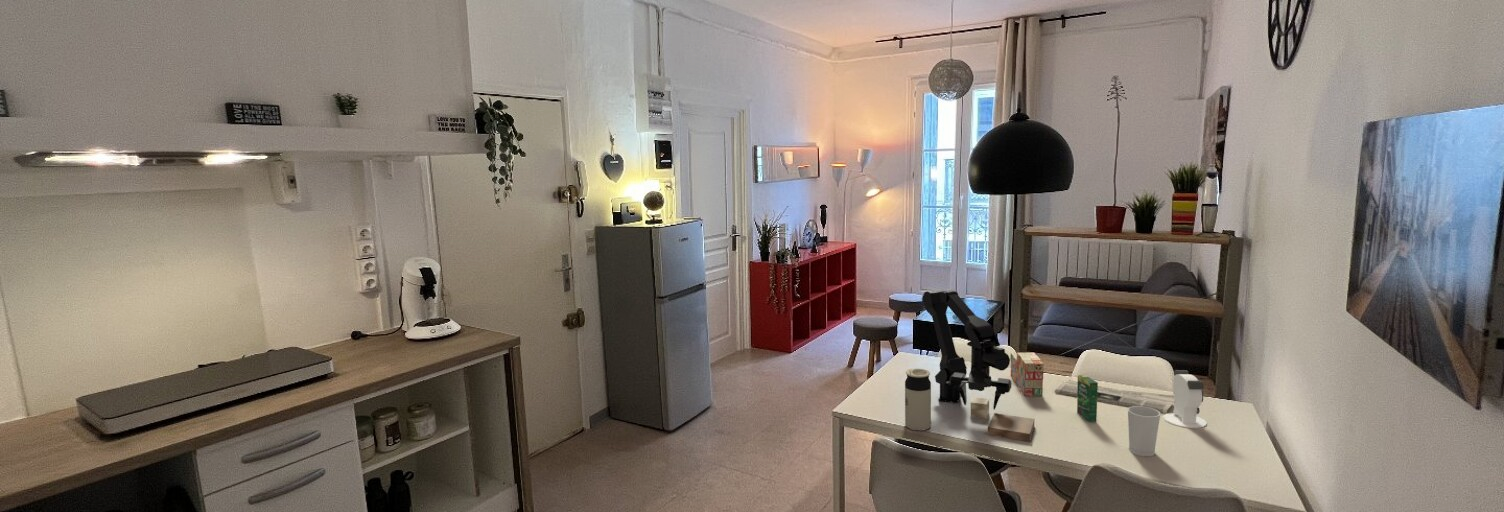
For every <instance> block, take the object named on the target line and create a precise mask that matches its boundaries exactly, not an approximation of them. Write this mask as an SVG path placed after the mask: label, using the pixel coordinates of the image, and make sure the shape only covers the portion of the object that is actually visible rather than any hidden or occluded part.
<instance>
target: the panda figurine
mask: <svg viewBox="0 0 1504 512" xmlns="http://www.w3.org/2000/svg"><path fill="white" fill-rule="evenodd" d="M1173 375H1174V377H1173V380H1172V393H1173V394H1172V395H1173V396H1174V397H1175V399H1174V403H1173V412H1167V414H1163V416H1162V419H1163V420H1164V421H1165V422H1167V423H1168V424H1171V425H1173V426H1177V427H1181V428H1184V429H1185V428H1187V429H1202V428H1205V427H1206V426H1207V421H1206V420H1204V419H1203V418H1201V417H1199V416H1198V415H1199V414H1200V406H1201V404H1202V403H1203V402H1204V391H1203V390H1204V382H1203V381H1202V380H1199V379H1198V378H1197V377H1196V376H1195V375H1193V374H1189V371H1188V370H1187V369H1186V370H1184V369H1181V370H1180V369H1175V370H1174V371H1173ZM1204 426H1205V427H1204ZM1201 427H1202V428H1201Z"/></svg>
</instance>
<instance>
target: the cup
mask: <svg viewBox="0 0 1504 512" xmlns="http://www.w3.org/2000/svg"><path fill="white" fill-rule="evenodd" d="M1160 420H1161V413H1160V412H1159V411H1157V410H1155V409H1152V408H1149V407H1143V406H1133V407H1127V421H1128V422H1127V424H1128V450H1129V452H1130V453H1132V454H1133V455H1136V456H1140V457H1153V456H1155V455H1156V453H1155V452H1156V445H1157V439H1158V432H1159V425H1160Z"/></svg>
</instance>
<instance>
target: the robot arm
mask: <svg viewBox="0 0 1504 512" xmlns="http://www.w3.org/2000/svg"><path fill="white" fill-rule="evenodd" d="M921 301H922V304H923V307H924V310H925V311H926V312H927V313H928V314H929V316H931V319H932V323H933V326H934V330H935V334H936V338H937V342H938V346H939V350H940V353H941V359H940V362H939V371H938V372H937V373H936V374H935V376H934V379H935V380H934V381H935V383H937V384H939V397H938V401H940V402H946V403H954V404H957V403H958V402H959V401H960V400H961V399H962V402H963V406H966V405H967V399H968V397H967V387H968V390H969V391H973V390H974V391H979V392H983V391H985V388H986V389H987V388H991V387H993V388H995V392H994V399H993V407H992V408H993V410H996V408H997V405H998V402H999V400H1000V397H1001V396H1002V395H1005V394H1006V393H1007V394H1008V393H1010V391H1011V389H1012V380H1011V379H1009V378H1003V377H998V378H997V380H993V379H992V376H991V375H990V370H991V368H993V369H996V370H998V371H1000V372H1001V371H1005V370H1006V369H1007V368H1008V367H1009V366H1010V364H1011V357H1010V356H1009V354H1008V353H1007V352H1006V349H1005V348H1003V347H1001V344H1000V341H999V340H1000V339H999V338H998V336H997V334H996V332H995V330H994V328H993V326H992V325H991V324H990V323H989V322H988V321H987V320H986V319H984V318H981V317H979V316H978V315H976V314H975V312H973V310H972V309H971V308H970V307H969V306H968V305H967V303H965V301H964V300H963V299H962V298H961V297H960V295H959V293H958V291H956V290H954V289H951V290H943V289H934V290H929V291H925V292H924V293H923V295H922V297H921ZM948 309H950V310H951V312H952V313H953V314H954V315H955V316H956V318H958V319H959V321H960V322H961V323H962V324H963V326H964V332H965V334H966V336H967V337H968V339H969V340H970V341H968V342H967V343H966V345H967V346H969V347H971V349H970V351H971V353H970V355H971V360H970V371H969V376H968V377H966V375H967V370H968V367H967V365H966V361H965V358H964V357H962V356H960V355H958V353H957V352H956V351H957V349H956V347H955V343H954V339H953V335H952V331H951V328H950V324H949V320H948V316H947V311H948ZM990 367H991V368H990Z"/></svg>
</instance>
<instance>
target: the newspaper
mask: <svg viewBox="0 0 1504 512" xmlns="http://www.w3.org/2000/svg"><path fill="white" fill-rule="evenodd" d="M1077 391H1078V381H1075V380H1068V381H1067V380H1066V381H1062V382H1061V383H1060V384H1059V385H1058V387H1056V388H1055V394H1058V395H1064V396H1069V397H1074V398H1077ZM1174 399H1175V397H1174V394H1172V395H1171V394H1162V393H1153V392H1152V393H1151V392H1146V391H1145V392H1143V391H1133V390H1127V389H1126V390H1124V389H1118V388H1113V387H1108V386H1107V387H1106V386H1102V385H1098V391H1097V402H1099V401H1100V402H1101V403H1105V404H1110V405H1115V406H1120V407H1121V406H1122V407H1126V406H1127V407H1126V408H1129V407H1133V406H1143V407H1149V408H1152V409H1155V410H1157V411H1159V412H1160V414H1163V413H1164V414H1163V415H1165V414H1167V413H1168V410H1169V409H1170V408H1171V406H1172V405H1174Z"/></svg>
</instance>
